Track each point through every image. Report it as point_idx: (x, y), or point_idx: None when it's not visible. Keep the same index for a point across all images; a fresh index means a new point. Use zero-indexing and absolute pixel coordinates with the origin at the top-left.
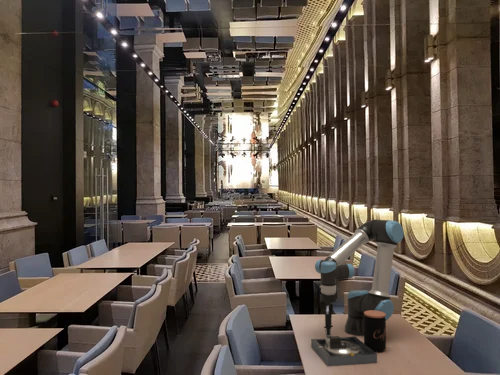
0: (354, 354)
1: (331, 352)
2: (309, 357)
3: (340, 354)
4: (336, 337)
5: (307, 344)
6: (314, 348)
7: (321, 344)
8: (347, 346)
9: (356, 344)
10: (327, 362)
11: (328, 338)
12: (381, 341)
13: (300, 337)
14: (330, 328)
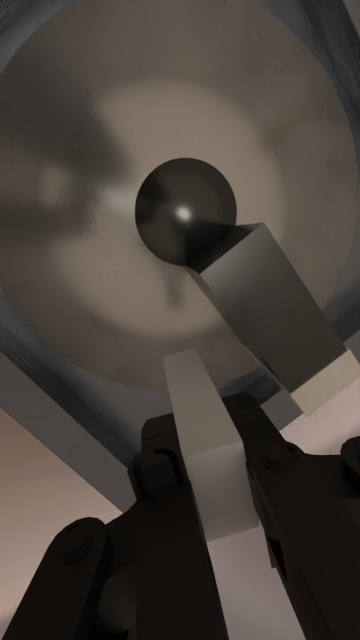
0: None
1: (330, 281)
2: (330, 414)
3: (352, 187)
4: (275, 282)
5: (110, 517)
6: None
7: (132, 428)
8: (138, 166)
9: (6, 70)
10: None
11: (358, 363)
12: None
13: (3, 608)
14: (282, 443)
